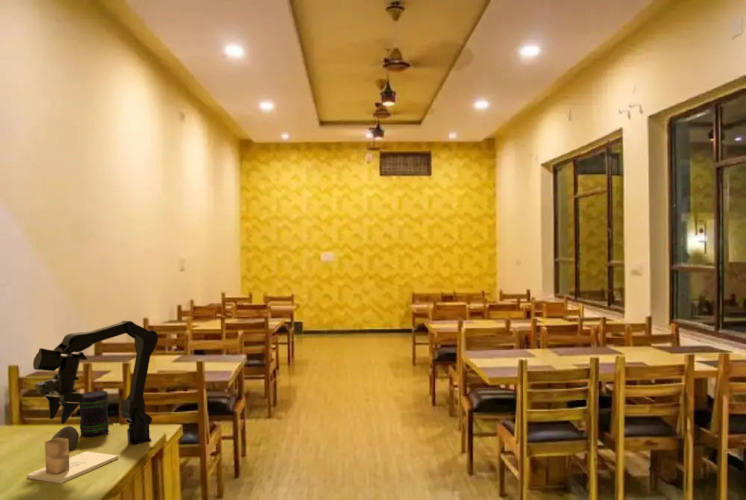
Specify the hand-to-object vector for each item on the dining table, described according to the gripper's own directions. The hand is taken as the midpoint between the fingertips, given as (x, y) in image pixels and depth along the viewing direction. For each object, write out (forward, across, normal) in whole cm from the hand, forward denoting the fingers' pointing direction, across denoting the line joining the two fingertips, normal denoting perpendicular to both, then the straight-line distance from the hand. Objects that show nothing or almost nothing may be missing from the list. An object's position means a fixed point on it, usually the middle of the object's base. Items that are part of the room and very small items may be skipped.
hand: (56, 421), depth 199 cm
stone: (+11, -15, +11) cm, 22 cm away
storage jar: (+8, -22, +24) cm, 34 cm away
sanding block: (+13, +12, -1) cm, 18 cm away
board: (+13, +10, +4) cm, 17 cm away
